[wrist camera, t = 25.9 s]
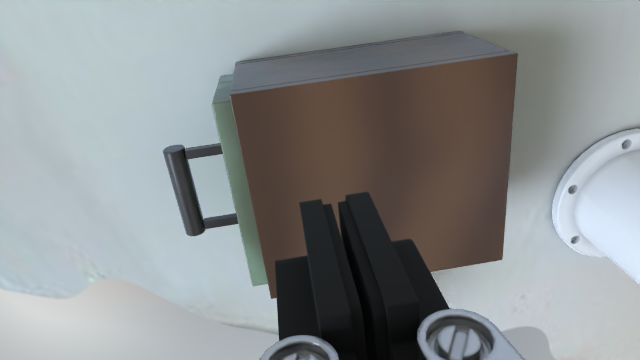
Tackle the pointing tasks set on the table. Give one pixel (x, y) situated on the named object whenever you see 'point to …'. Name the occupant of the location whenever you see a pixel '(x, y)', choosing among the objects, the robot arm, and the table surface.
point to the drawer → (237, 179)
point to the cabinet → (382, 142)
